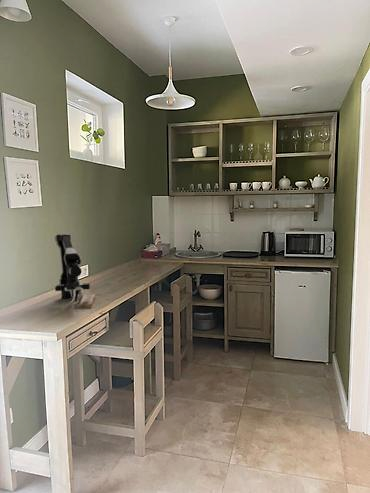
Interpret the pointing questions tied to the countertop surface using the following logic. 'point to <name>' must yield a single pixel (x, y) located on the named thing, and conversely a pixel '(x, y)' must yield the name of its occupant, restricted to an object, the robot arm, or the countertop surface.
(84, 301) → the walnut board
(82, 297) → the caliper
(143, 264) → the countertop surface
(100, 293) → the countertop surface
